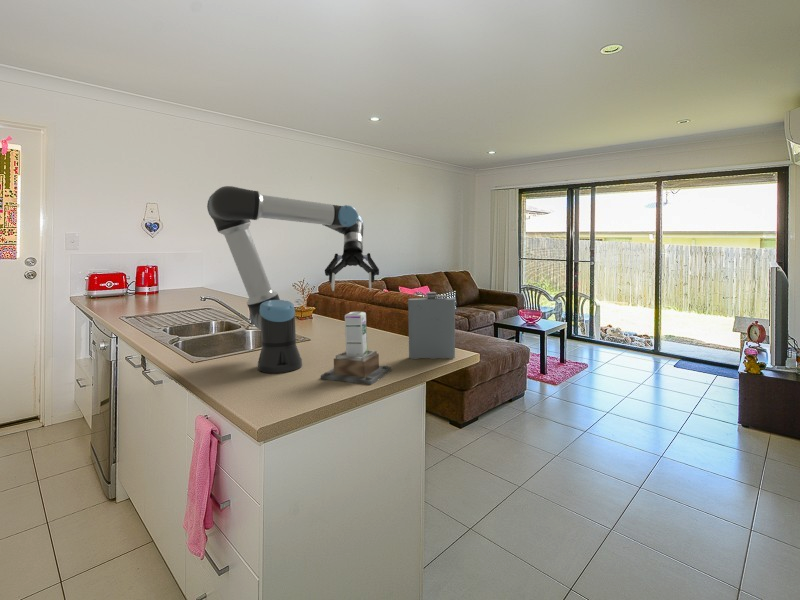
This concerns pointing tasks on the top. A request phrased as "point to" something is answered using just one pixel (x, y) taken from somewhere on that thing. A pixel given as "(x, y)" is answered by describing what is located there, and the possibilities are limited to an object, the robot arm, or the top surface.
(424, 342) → the tall gray carton
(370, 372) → the assembly base
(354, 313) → the syrup box
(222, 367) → the top surface
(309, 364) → the top surface
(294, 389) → the top surface
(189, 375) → the top surface
